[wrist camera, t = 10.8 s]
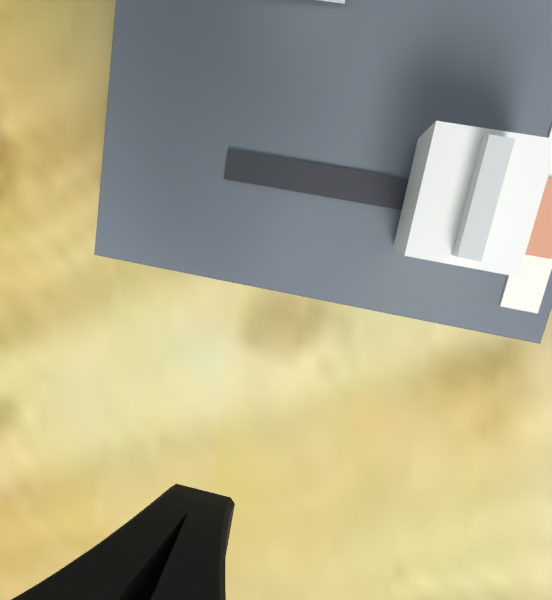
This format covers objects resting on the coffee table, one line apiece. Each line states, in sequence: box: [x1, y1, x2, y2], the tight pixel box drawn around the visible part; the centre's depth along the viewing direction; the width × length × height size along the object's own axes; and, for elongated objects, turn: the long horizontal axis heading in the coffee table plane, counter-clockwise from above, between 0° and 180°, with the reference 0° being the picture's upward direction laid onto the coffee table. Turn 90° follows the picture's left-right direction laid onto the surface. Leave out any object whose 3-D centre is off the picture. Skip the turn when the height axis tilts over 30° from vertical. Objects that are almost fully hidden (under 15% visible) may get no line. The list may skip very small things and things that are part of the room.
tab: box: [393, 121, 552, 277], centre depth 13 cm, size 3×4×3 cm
